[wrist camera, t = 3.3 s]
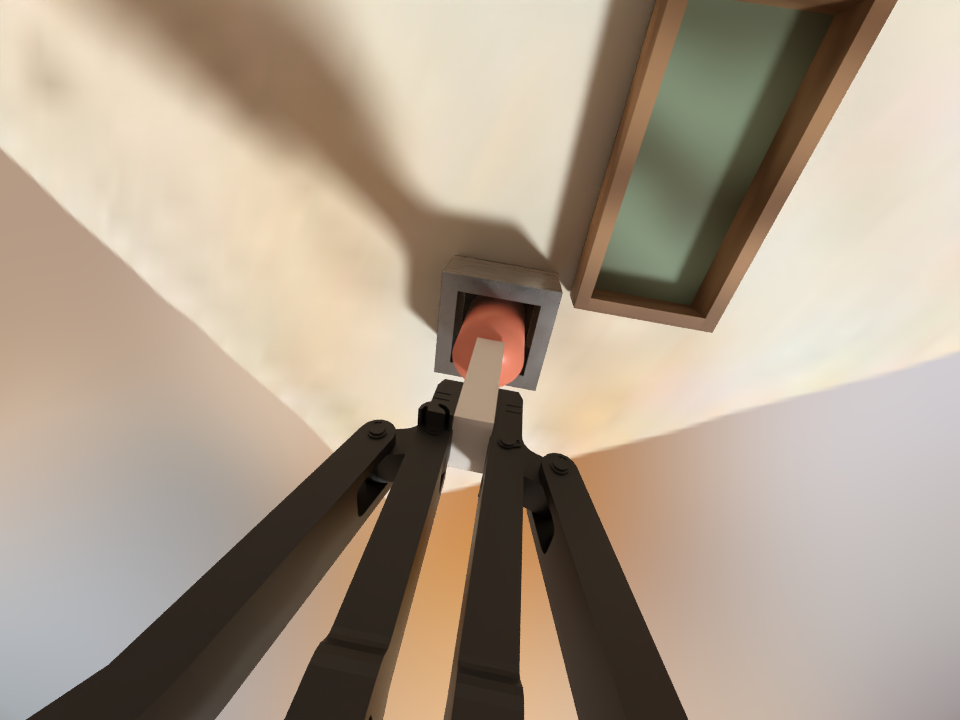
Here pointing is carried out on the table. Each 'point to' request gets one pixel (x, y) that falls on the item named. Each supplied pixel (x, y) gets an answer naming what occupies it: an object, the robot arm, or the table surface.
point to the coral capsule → (493, 334)
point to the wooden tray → (714, 148)
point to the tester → (503, 285)
